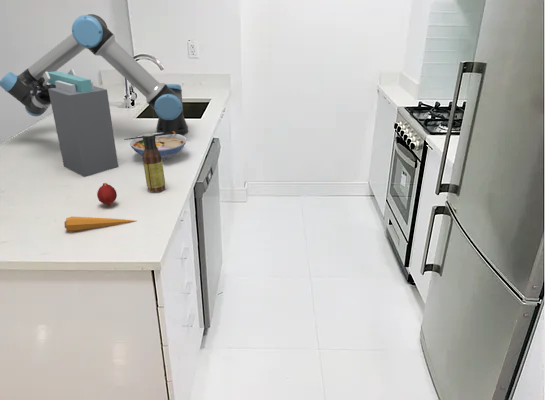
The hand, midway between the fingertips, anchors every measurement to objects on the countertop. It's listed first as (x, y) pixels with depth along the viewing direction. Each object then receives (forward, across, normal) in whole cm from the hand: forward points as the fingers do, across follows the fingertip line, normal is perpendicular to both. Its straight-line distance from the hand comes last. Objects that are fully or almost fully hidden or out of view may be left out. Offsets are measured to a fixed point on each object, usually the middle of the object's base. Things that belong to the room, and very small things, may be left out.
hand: (60, 73), depth 163 cm
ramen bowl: (+1, -25, -41) cm, 48 cm away
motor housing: (-8, 0, -35) cm, 36 cm away
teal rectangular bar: (+2, 0, -6) cm, 7 cm away
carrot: (+33, +22, -59) cm, 72 cm away
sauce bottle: (+24, -4, -54) cm, 59 cm away
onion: (+24, +13, -53) cm, 60 cm away
